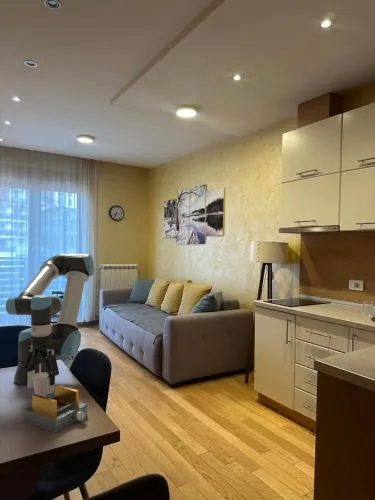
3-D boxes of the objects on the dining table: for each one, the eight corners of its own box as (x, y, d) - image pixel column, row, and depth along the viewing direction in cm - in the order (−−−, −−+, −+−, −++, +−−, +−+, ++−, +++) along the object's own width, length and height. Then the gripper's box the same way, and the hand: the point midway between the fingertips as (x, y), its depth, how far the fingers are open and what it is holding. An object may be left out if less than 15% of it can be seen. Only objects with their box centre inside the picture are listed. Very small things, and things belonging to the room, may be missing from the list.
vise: (23, 421, 122) (23, 395, 122) (56, 405, 134) (56, 382, 134) (61, 435, 113) (62, 407, 113) (93, 417, 125) (93, 392, 125)
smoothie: (44, 394, 144) (44, 360, 144) (52, 398, 140) (52, 363, 140) (28, 399, 140) (29, 364, 140) (36, 404, 135) (37, 367, 135)
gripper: (13, 333, 142) (13, 387, 142) (53, 340, 131) (53, 399, 131) (30, 329, 149) (29, 381, 149) (69, 336, 138) (68, 392, 138)
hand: (40, 390), depth 140 cm, fingers open, 11 cm apart
